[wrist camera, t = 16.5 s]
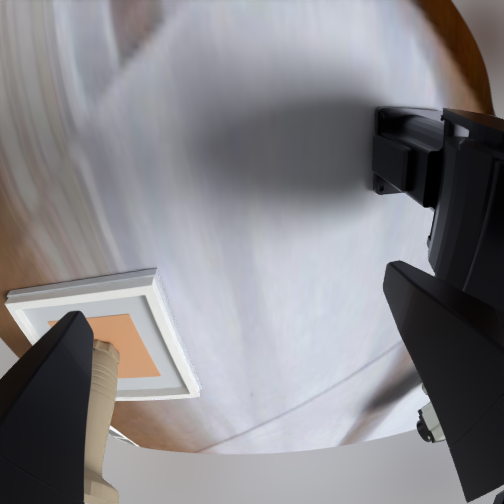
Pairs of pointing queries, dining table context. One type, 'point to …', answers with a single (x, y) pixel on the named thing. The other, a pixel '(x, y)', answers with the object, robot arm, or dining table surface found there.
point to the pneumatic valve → (429, 423)
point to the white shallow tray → (118, 329)
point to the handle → (100, 423)
